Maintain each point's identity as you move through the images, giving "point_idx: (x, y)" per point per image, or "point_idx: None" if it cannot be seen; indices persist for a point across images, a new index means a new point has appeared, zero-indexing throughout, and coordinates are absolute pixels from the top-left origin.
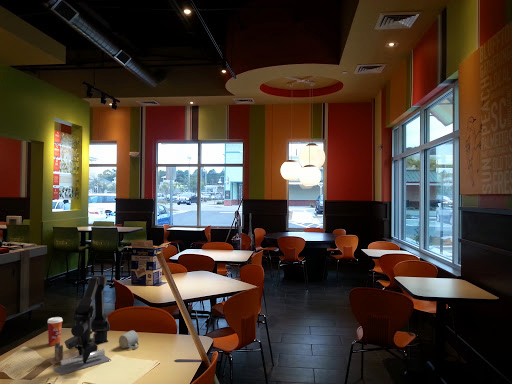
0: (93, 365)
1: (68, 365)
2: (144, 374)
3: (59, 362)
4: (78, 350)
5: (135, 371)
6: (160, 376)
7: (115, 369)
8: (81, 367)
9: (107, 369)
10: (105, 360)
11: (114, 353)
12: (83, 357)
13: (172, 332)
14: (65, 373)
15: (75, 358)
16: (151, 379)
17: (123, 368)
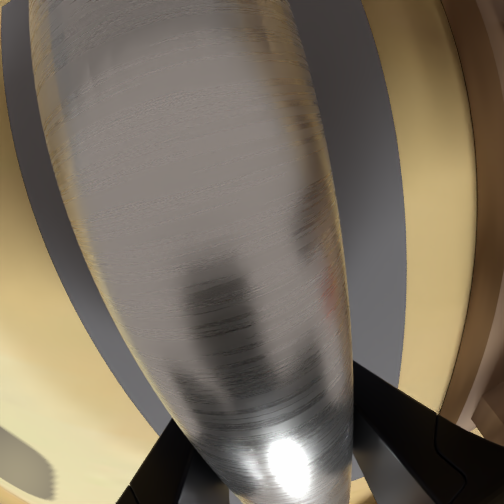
0: (161, 430)
1: (329, 110)
2: (10, 492)
3: (474, 22)
4: (484, 492)
5: (34, 496)
6: (4, 498)
7: (55, 478)
8: (108, 321)
9: (56, 460)
10: (232, 493)
11: (354, 495)
12: (133, 482)
13: None
14: (8, 71)
15: (133, 339)
16: None
17: (68, 496)
